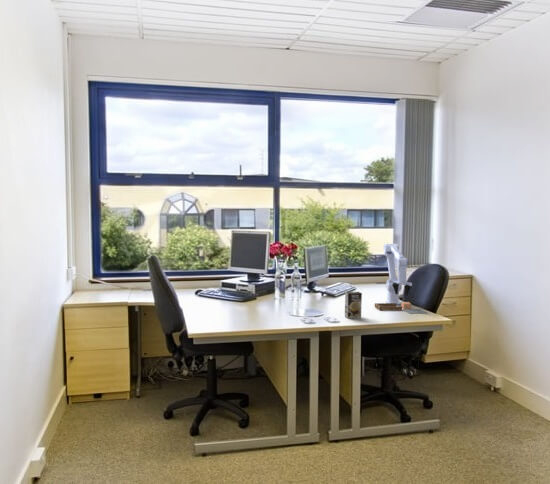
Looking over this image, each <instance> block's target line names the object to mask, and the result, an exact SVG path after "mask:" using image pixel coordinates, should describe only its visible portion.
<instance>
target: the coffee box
mask: <svg viewBox="0 0 550 484" xmlns="http://www.w3.org/2000/svg"><path fill="white" fill-rule="evenodd" d="M344 293H345V296H344V297H345V298H344V317H345V318H346V319H348V320H349V319H362V305H363V304H362V301H363V300H362V299H363V297H362V295H363V293H362V292H360V291H345V292H344Z"/></svg>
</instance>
